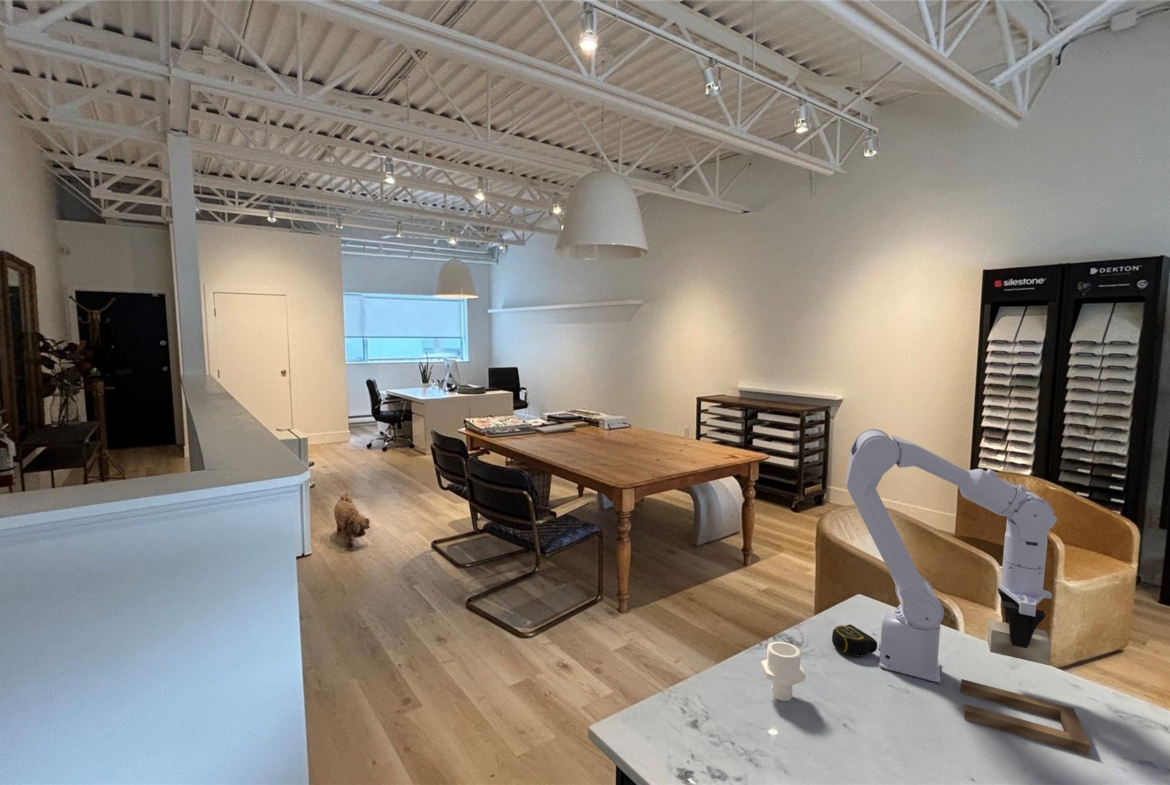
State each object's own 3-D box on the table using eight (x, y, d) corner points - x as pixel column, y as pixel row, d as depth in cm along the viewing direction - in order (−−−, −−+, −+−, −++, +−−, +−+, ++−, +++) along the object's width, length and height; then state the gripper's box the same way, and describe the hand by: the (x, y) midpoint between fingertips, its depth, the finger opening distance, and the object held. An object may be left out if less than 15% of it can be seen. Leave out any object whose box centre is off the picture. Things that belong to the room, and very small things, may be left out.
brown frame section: (964, 719, 90) (965, 710, 89) (960, 687, 98) (961, 678, 98) (1089, 755, 82) (1090, 745, 82) (1072, 716, 91) (1073, 708, 90)
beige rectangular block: (990, 652, 98) (991, 629, 98) (987, 640, 102) (988, 619, 102) (1049, 665, 94) (1050, 642, 94) (1043, 653, 98) (1045, 630, 98)
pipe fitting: (751, 690, 96) (753, 645, 95) (782, 679, 99) (784, 635, 99) (780, 712, 90) (782, 664, 90) (812, 700, 94) (814, 653, 93)
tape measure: (878, 657, 108) (880, 638, 107) (849, 662, 105) (850, 643, 105) (851, 639, 114) (852, 621, 114) (823, 644, 112) (824, 625, 112)
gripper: (1062, 582, 89) (1055, 666, 90) (1045, 554, 101) (1038, 628, 102) (1007, 573, 92) (1000, 653, 93) (996, 546, 105) (990, 617, 106)
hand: (1016, 639), depth 98 cm, fingers closed on beige rectangular block, 4 cm apart
